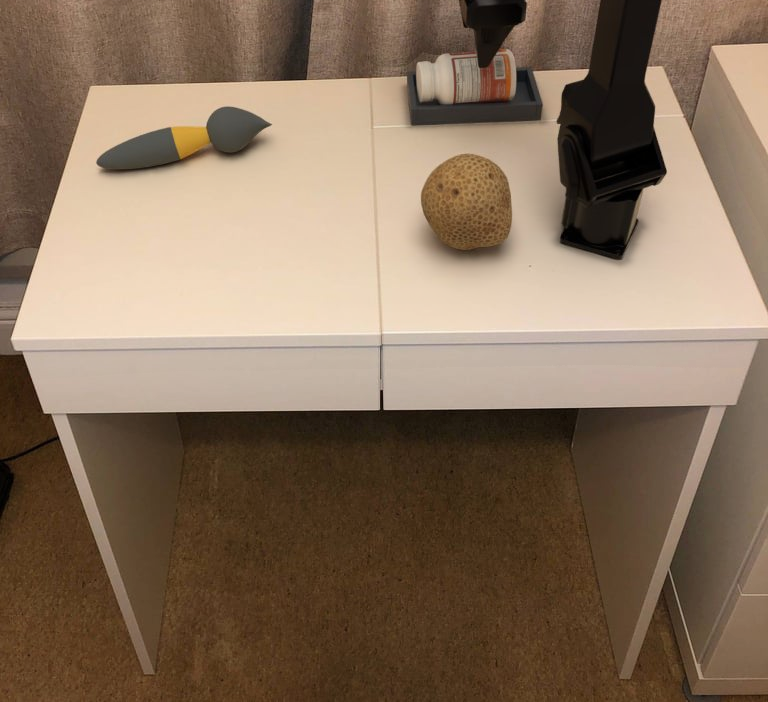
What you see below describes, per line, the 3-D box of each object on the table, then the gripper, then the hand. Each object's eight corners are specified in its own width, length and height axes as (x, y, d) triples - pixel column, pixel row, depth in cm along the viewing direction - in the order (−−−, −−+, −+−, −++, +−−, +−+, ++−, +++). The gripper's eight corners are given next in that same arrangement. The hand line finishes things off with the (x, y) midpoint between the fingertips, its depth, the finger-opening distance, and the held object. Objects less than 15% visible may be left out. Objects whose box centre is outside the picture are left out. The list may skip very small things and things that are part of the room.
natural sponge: (423, 211, 92) (424, 130, 85) (507, 215, 91) (517, 133, 84) (417, 269, 86) (418, 187, 79) (507, 273, 85) (517, 191, 78)
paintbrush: (104, 191, 95) (92, 152, 92) (97, 166, 98) (85, 128, 95) (277, 150, 100) (272, 112, 96) (265, 128, 103) (260, 90, 99)
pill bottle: (504, 85, 107) (415, 92, 107) (508, 38, 103) (415, 45, 102) (514, 113, 103) (421, 120, 102) (519, 65, 98) (422, 72, 98)
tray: (529, 82, 109) (531, 66, 107) (540, 120, 103) (542, 104, 101) (406, 87, 108) (406, 71, 107) (411, 125, 103) (411, 109, 101)
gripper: (394, -125, 94) (395, 13, 106) (419, -52, 82) (417, 95, 93) (495, -131, 95) (485, 6, 107) (535, -60, 83) (519, 87, 94)
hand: (475, 46), depth 100 cm, fingers open, 9 cm apart
